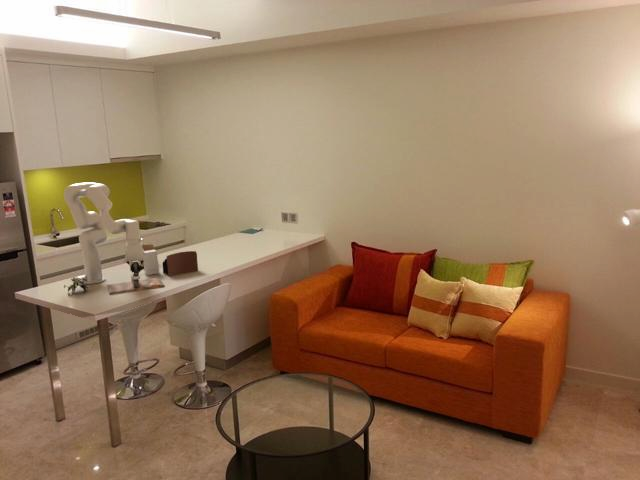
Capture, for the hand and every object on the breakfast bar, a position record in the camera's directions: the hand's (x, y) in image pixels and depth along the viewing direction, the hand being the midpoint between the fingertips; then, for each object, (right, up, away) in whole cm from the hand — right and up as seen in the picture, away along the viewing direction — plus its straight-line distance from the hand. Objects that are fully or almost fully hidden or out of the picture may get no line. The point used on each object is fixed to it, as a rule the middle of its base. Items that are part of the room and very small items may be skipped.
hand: (136, 271), depth 320 cm
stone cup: (-9, +1, +47) cm, 48 cm away
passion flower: (-29, -12, -12) cm, 34 cm away
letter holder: (+19, -2, +27) cm, 34 cm away
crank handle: (+1, -3, -4) cm, 5 cm away
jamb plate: (+1, -9, -2) cm, 9 cm away
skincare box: (+1, -3, +26) cm, 26 cm away
